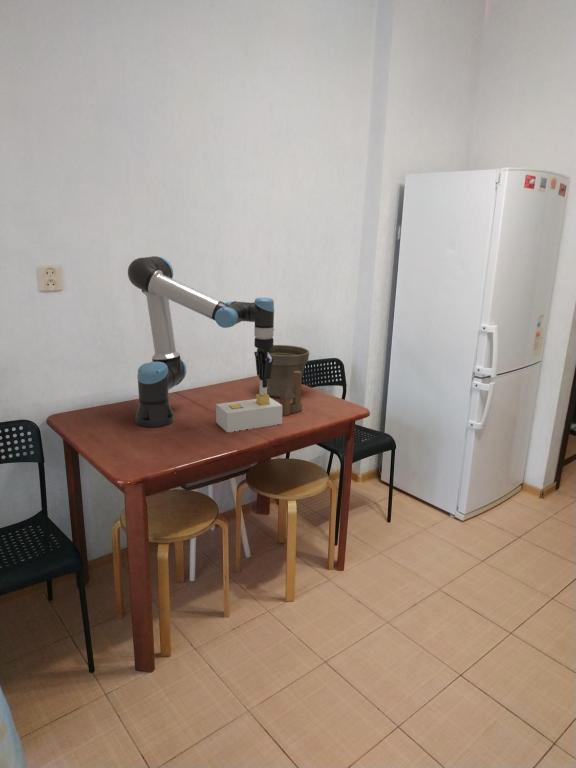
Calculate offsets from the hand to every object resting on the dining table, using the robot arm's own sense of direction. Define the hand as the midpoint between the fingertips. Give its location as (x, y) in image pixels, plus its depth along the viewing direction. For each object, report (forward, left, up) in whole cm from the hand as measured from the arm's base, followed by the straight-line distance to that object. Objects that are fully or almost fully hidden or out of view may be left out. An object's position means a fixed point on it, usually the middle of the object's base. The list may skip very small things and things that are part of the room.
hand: (263, 394), depth 218 cm
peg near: (-12, 0, -12) cm, 17 cm away
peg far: (0, 0, -8) cm, 8 cm away
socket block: (-6, 0, -12) cm, 13 cm away
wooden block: (+16, +5, -12) cm, 21 cm away
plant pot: (+26, +32, -12) cm, 42 cm away
